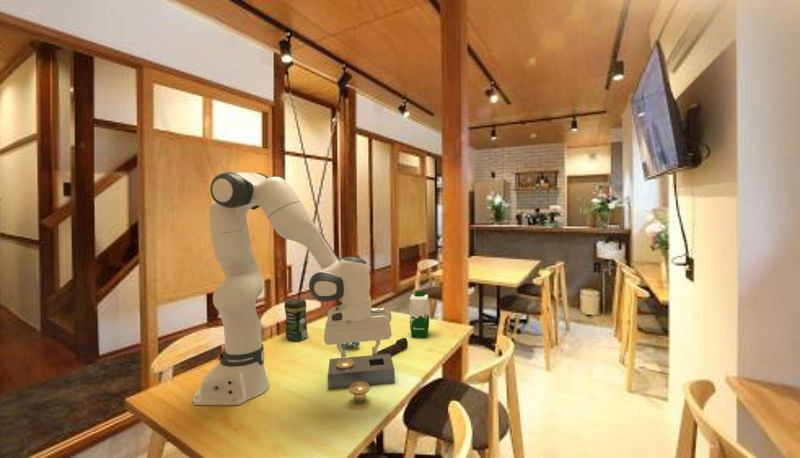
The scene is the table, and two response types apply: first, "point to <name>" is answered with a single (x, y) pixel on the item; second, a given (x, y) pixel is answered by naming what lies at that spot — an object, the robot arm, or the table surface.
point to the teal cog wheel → (352, 343)
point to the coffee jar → (295, 319)
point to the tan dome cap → (359, 391)
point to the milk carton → (419, 314)
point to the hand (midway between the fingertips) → (359, 355)
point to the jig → (360, 370)
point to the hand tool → (394, 347)
